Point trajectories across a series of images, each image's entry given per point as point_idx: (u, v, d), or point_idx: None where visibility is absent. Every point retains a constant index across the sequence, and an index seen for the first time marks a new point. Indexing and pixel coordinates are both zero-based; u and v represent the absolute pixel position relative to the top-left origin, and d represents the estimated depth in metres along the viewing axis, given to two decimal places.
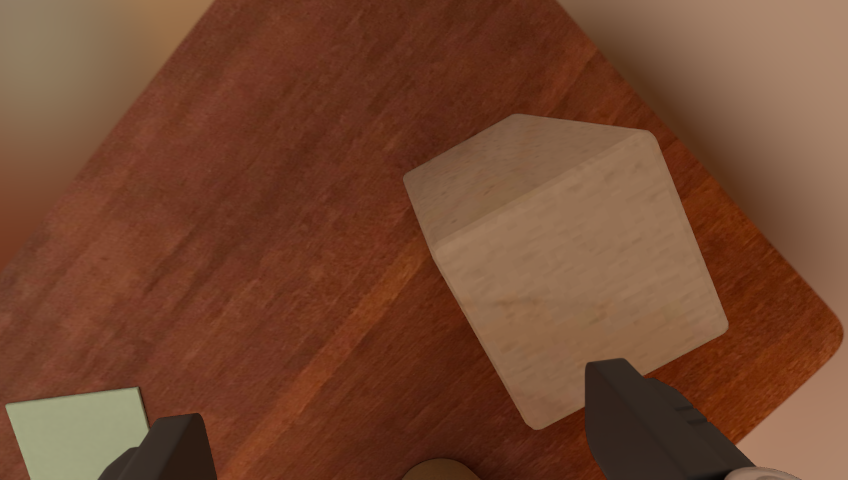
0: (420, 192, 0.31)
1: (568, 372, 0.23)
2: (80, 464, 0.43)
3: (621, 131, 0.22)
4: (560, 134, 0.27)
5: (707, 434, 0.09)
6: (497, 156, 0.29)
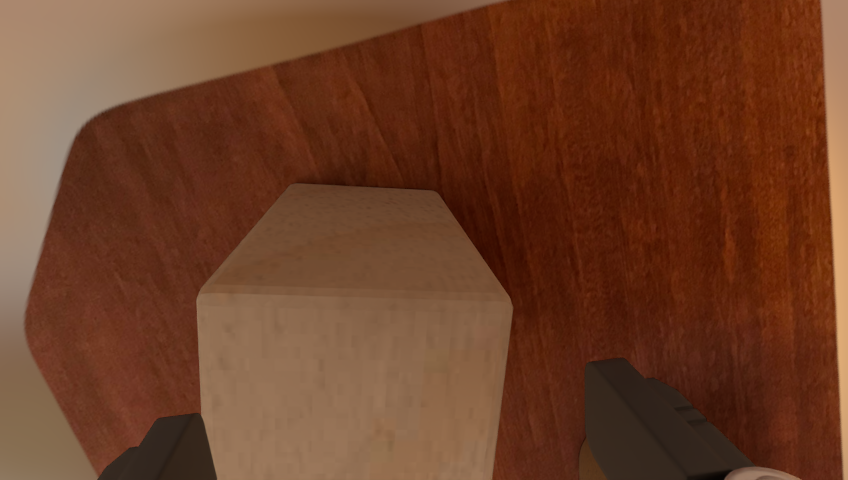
0: None
1: None
2: None
3: None
4: None
5: (707, 434, 0.09)
6: None
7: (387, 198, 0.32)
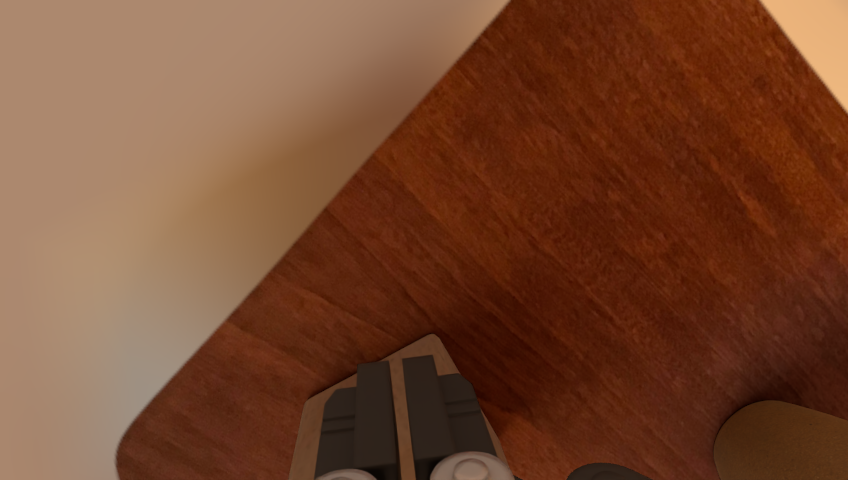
0: None
1: None
2: None
3: None
4: None
5: (473, 424, 0.10)
6: None
7: None
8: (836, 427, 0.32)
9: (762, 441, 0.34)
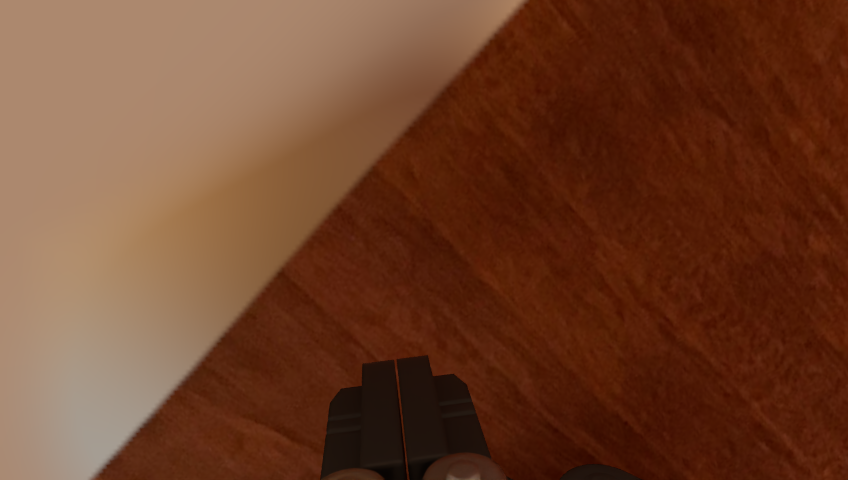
0: None
1: None
2: None
3: None
4: None
5: (467, 425, 0.10)
6: None
7: None
8: None
9: None
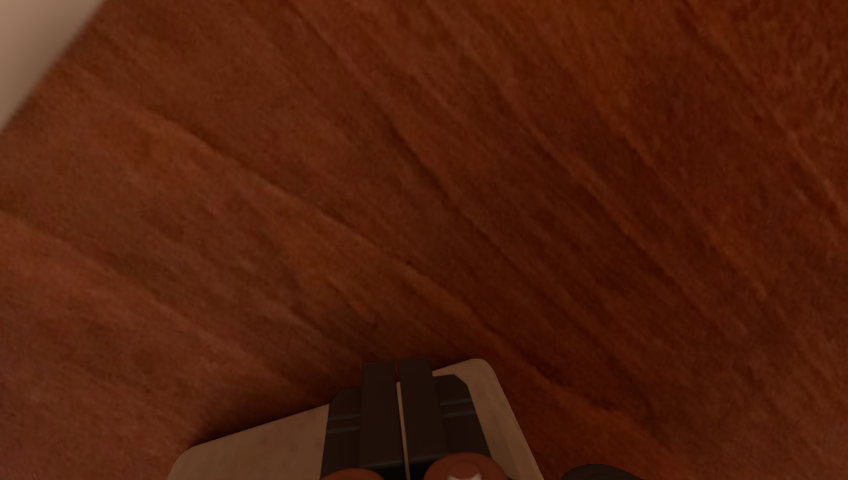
0: None
1: None
2: None
3: None
4: None
5: (467, 424, 0.10)
6: None
7: None
8: None
9: None
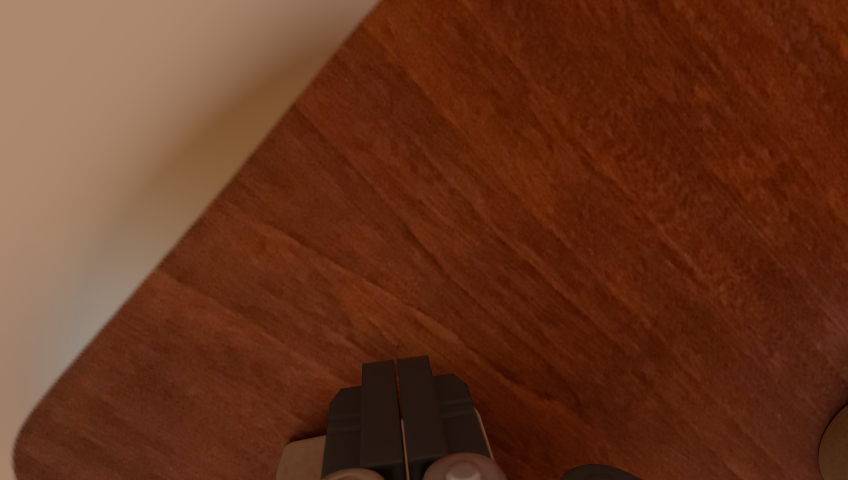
0: None
1: None
2: None
3: None
4: None
5: (467, 425, 0.10)
6: None
7: None
8: None
9: None
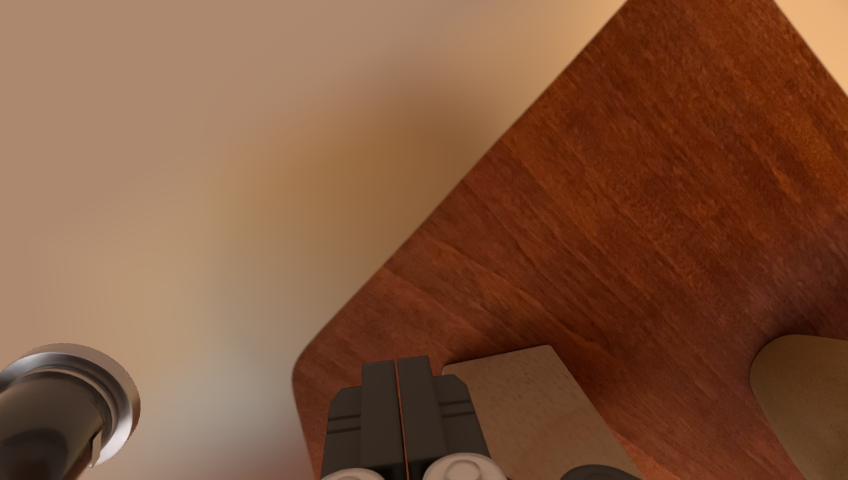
0: None
1: None
2: None
3: None
4: None
5: (467, 425, 0.10)
6: None
7: (523, 373, 0.43)
8: None
9: (790, 359, 0.45)
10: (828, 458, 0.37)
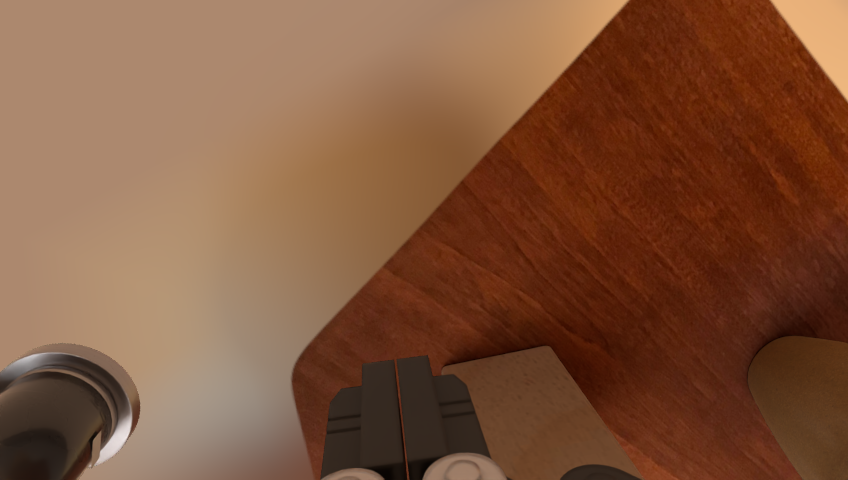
0: None
1: None
2: None
3: None
4: None
5: (467, 425, 0.10)
6: None
7: (522, 374, 0.43)
8: (845, 346, 0.43)
9: (789, 360, 0.45)
10: (826, 459, 0.37)
